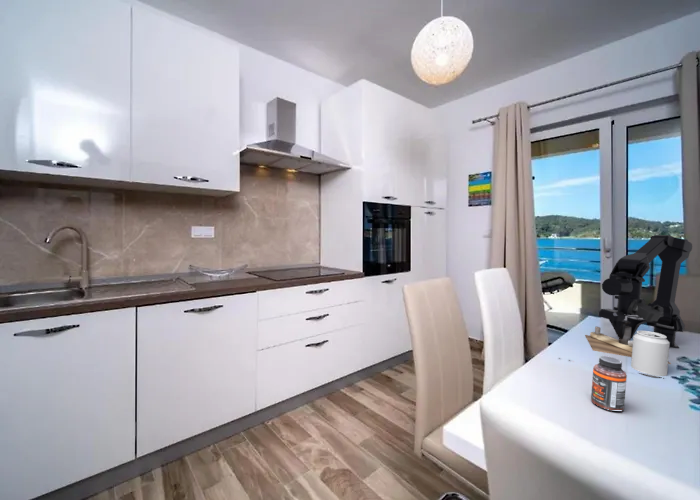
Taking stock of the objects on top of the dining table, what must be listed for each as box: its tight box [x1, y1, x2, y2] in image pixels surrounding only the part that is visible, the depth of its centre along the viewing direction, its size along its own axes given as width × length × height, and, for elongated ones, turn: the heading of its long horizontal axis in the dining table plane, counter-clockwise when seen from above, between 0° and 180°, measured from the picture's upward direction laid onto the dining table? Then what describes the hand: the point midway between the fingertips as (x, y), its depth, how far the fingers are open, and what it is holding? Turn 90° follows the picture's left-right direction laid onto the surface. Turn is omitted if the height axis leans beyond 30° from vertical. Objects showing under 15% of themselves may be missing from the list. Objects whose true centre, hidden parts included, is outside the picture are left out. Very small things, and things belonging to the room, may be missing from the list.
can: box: [630, 330, 670, 379], centre depth 88 cm, size 8×8×12 cm
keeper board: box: [584, 334, 672, 365], centre depth 105 cm, size 19×19×5 cm
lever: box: [589, 326, 633, 352], centre depth 108 cm, size 18×4×8 cm, turn 7°
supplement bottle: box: [590, 355, 628, 411], centre depth 70 cm, size 6×6×11 cm
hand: (625, 338), depth 105 cm, fingers open, 4 cm apart
